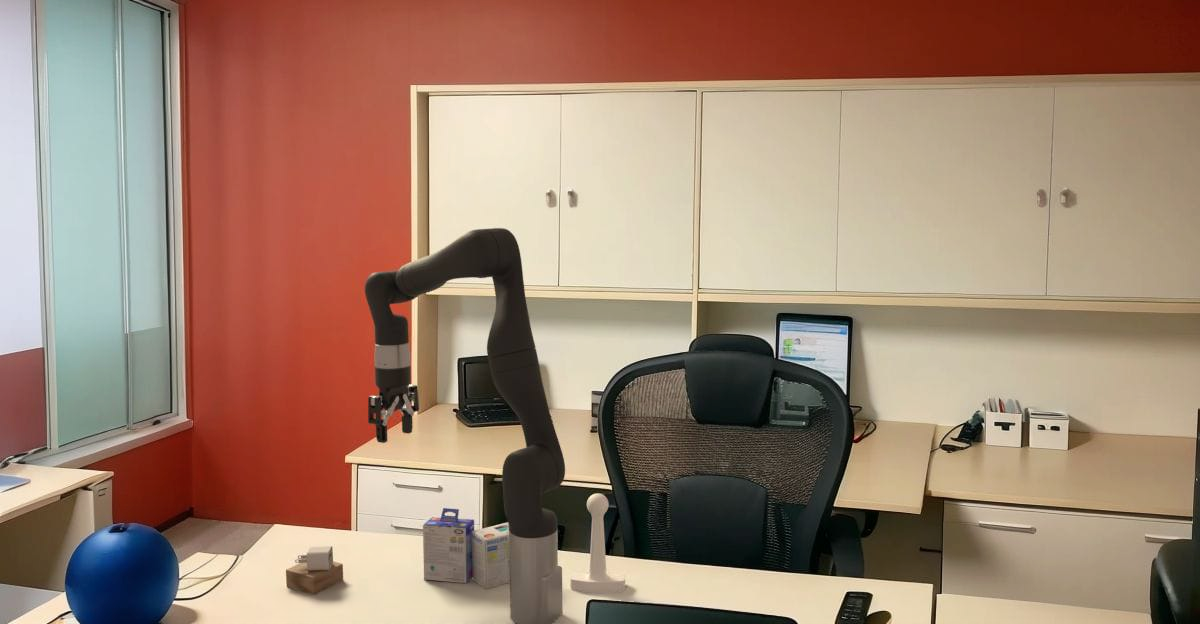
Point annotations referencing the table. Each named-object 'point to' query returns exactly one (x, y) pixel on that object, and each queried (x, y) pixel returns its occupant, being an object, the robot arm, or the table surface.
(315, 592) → the walnut block
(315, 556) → the usb wall charger
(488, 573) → the light bulb box
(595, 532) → the joystick
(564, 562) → the table surface
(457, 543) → the ink cartridge box
